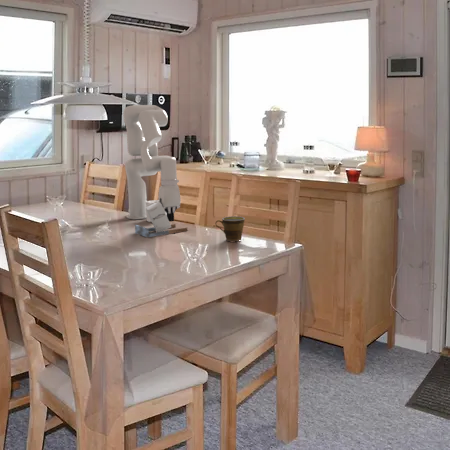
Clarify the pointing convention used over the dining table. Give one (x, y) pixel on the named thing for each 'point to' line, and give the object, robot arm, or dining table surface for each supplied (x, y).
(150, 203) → the toilet tissue
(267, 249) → the dining table surface
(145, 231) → the blue brown forked frame
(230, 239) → the ceramic cup
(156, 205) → the supplement box
